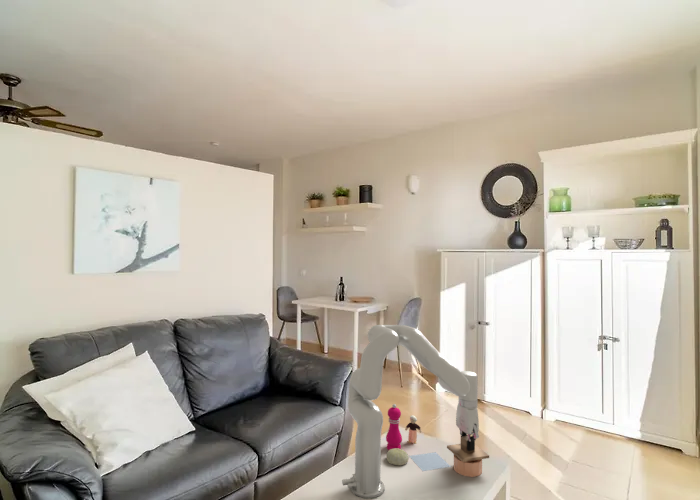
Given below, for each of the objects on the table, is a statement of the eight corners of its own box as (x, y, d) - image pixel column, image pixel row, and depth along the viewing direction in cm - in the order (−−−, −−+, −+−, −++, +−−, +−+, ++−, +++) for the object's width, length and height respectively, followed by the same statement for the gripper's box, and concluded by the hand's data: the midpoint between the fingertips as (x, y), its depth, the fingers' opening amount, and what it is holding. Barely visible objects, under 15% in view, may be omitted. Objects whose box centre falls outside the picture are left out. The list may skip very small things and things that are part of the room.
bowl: (463, 478, 156) (463, 464, 157) (448, 465, 167) (448, 451, 167) (487, 475, 160) (487, 461, 160) (471, 461, 170) (471, 448, 170)
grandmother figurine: (404, 444, 186) (405, 416, 186) (404, 440, 189) (405, 413, 190) (421, 445, 184) (421, 417, 185) (421, 441, 188) (421, 414, 189)
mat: (422, 471, 161) (422, 471, 161) (408, 456, 174) (408, 455, 174) (451, 467, 165) (451, 466, 165) (435, 452, 178) (435, 452, 178)
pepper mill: (389, 453, 176) (389, 407, 177) (383, 446, 183) (384, 402, 184) (404, 451, 178) (404, 406, 179) (398, 444, 185) (398, 400, 186)
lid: (462, 461, 156) (463, 446, 156) (447, 447, 167) (447, 433, 168) (489, 458, 159) (489, 442, 160) (471, 444, 171) (472, 430, 171)
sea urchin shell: (405, 465, 163) (392, 447, 166) (392, 475, 165) (380, 458, 168) (413, 455, 171) (401, 439, 174) (401, 465, 173) (389, 449, 176)
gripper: (449, 396, 171) (448, 439, 170) (471, 410, 155) (471, 458, 154) (464, 395, 173) (464, 437, 173) (488, 409, 157) (488, 456, 157)
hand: (467, 447), depth 163 cm, fingers closed on lid, 4 cm apart
